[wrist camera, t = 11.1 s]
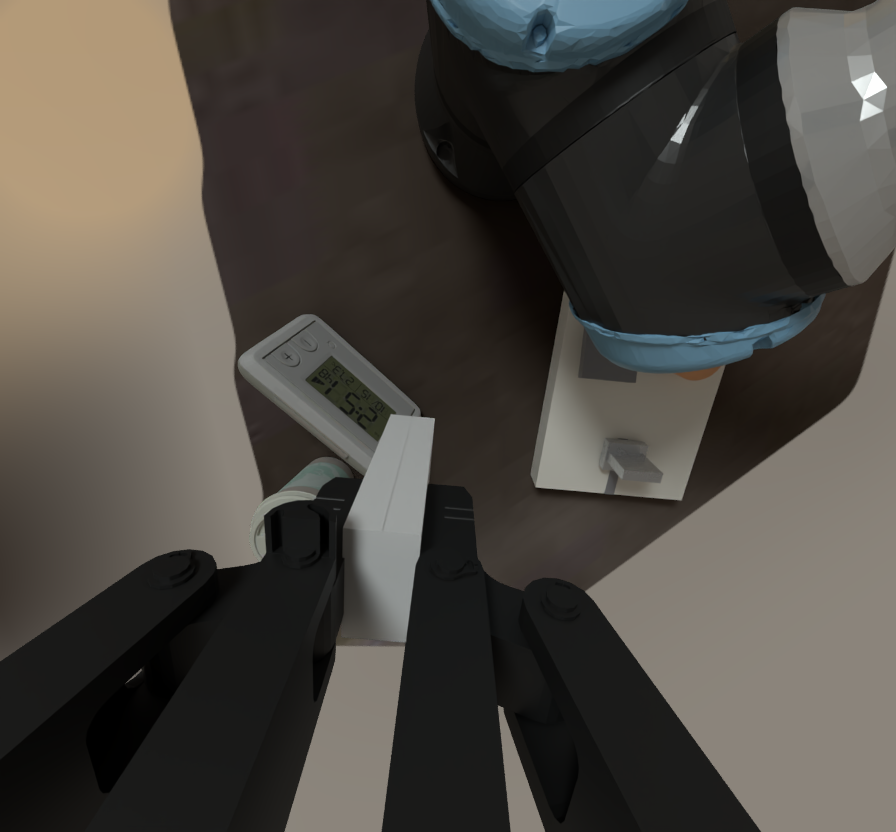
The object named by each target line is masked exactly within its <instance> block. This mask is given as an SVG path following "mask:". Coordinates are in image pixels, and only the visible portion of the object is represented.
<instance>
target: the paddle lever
mask: <svg viewBox="0 0 896 832" xmlns="http://www.w3.org/2000/svg"><path fill="white" fill-rule="evenodd" d="M648 447H649V446H648V445H647V444H646V443H645V442H643V441H633V440H622V439H611V438H605V439H604V444H603V448H602V452H601V456H600V460H599V466H600V467H601V468H602V470H613V471H615V472H616V473H617V474H618V476H619V477H620V478H621V479H622V480H629V481H640V482H651V483H661V480H662V477H663V473H662V472H661V471H660V470H659V469H658V468H657V467H656V466H655V465H654V464H653V463H652V462H651V461H650V460H649V459H648V458H647V457H646V454H647V450H648Z"/></svg>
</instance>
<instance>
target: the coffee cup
mask: <svg viewBox="0 0 896 832" xmlns="http://www.w3.org/2000/svg"><path fill="white" fill-rule="evenodd" d="M335 477H343V478H354V476H353V473H352V471H351V469H350V468H349V467H348V466H347V465H346V464H345V463H344V462H342V461H340V460H338V459H336V458H332V457H322V458H318V459H316V460H314V461H312V462H311V463H310V464H309V465H308V466H307V467H305V468H304V469H303V470H302V471H301V472H300V473H299V474H298V475H296V476H295V477H294V478H293V479H292V480H291V481H290V482H289V483H288V484H287V485H285V486H284V487H283V488H282V489H281V490H280V491H279V492H278V493H277V494H274V495H272V496H270V497H268V498H267V499H265V500H264V501H263V502H262V503H261V504H260V505H259V507H258V508H257V510H256V512H255V514H254V516H253V518H252V522H251V530H250V536H249V540H250V546H251V549H252V552H253V554H254V555H255V557H256V558H257V560H258V561H259V562H260V561H261V560H262V558H263V557H264V555H265V554H266V544H265V527H264V515H265V514H266V513H268V512H269V511H270V510H271V509H272V508H274V507H277V506H279V505H281V504H283V503H287V502H292V501H296V500H314V499H316V495H317V494H318V492H319V490H320V489H321V487H322V485H324V484H325V483H327V482H329V481H330V480H332V479H333V478H335Z"/></svg>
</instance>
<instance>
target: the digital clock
mask: <svg viewBox="0 0 896 832" xmlns="http://www.w3.org/2000/svg"><path fill="white" fill-rule="evenodd" d="M238 368H239V371H240V373H241V374H242V376H243V377H244V378H245V379H246V380H247V381H248V382H249V383H250V384H252V385H253V386H254V387H255V388H256V389H258V390H259V391H260V392H261V393H262V394H263V395H265V396H266V397H267V398H268V399H270V400H271V401H272V402H273V403H274V404H276V405H277V406H278V407H279V408H281V409H282V410H283V411H284V412H285V413H287V414H288V415H289V416H290V417H292V418H293V419H294V420H295V421H297V422H298V423H299V424H300V425H301V426H303V427H304V428H305V429H306V430H308V431H309V432H310V433H311V434H313V435H314V436H315V437H316V438H317V439H319V440H320V441H321V442H322V443H324V444H325V445H326V446H327V447H328V448H330V449H331V450H332V451H333V452H335V453H336V454H337V455H338V456H340V457H341V458H342V459H343V460H344V461H346V462H347V463H348V464H349V465H351V466H352V467H353V468H355V469H356V470H357V471H358V472H360V473H361V474H362V475H363V476H365V474H366V472H367V470H368V467H369V465H370V463H371V460H372V458H373V455H374V453H375V451H376V448H377V446H378V444H379V441H380V439H381V437H382V434H383V432H384V429H385V427H386V425H387V422H388V420H389V418H390V415H391V414H393V415H404V416H415V417H421V412H420V409H419V408H418V406H417V405H416V404H415V403H414V402H413V401H411V400H410V399H409V398H408V397H407V396H406V395H405V394H404V393H403V392H402V391H401V390H399V389H398V388H397V387H396V386H395V385H394V384H393V383H392V382H391V381H389V380H388V379H387V378H386V377H385V376H384V375H383V374H382V373H381V372H379V371H378V370H377V369H376V368H375V367H374V366H373V365H372V364H371V363H369V362H368V361H367V360H366V359H365V358H364V357H363V356H362V355H360V354H359V353H358V352H357V351H356V350H355V349H354V348H353V347H352V346H350V345H349V344H348V343H347V342H346V341H345V340H344V339H343V338H342V337H340V336H339V335H338V334H337V333H336V332H335V331H334V330H333V329H332V328H330V327H329V326H328V325H327V324H326V323H325V322H323V321H322V320H321V319H320V318H319V317H317V316H315V315H309V314H307V315H301V316H299V317H298V318H296V319H295V320H293V321H292V322H290V323H288V324H287V325H285V326H284V327H282V328H281V329H279V330H278V331H276V332H275V333H273V334H272V335H270V336H269V337H267V338H266V339H264V340H263V341H261V342H260V343H258V344H257V345H255V346H254V347H252V348H251V349H249V350H248V351H247V352H245V353H244V354H243V355H242V356H241V357H240V358H239V361H238Z"/></svg>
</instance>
